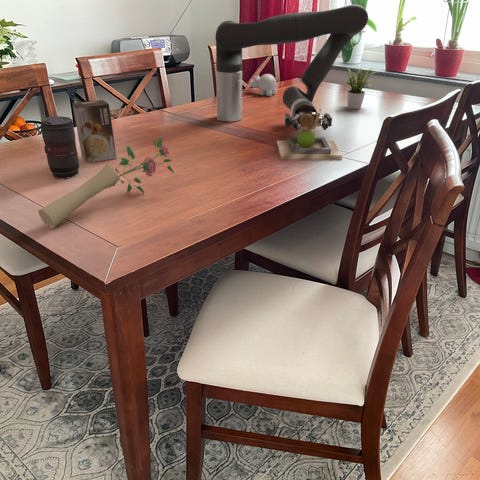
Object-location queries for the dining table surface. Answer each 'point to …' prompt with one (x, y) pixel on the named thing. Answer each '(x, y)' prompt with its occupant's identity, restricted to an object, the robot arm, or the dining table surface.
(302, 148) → the board
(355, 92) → the house plant
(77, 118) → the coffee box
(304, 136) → the snail figurine
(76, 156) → the camera lens
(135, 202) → the dining table surface
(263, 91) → the round bodied animal figurine
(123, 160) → the flower vase
